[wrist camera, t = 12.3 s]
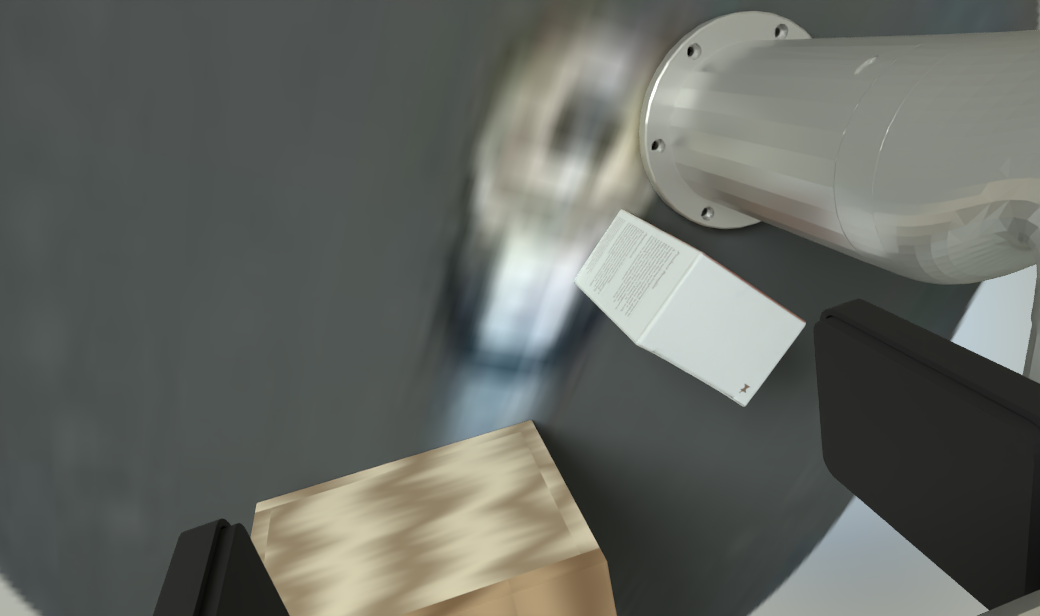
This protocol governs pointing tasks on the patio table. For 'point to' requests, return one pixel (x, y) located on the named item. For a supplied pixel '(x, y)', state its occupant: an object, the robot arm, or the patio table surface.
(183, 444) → the patio table surface
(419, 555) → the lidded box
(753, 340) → the small box
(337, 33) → the patio table surface
